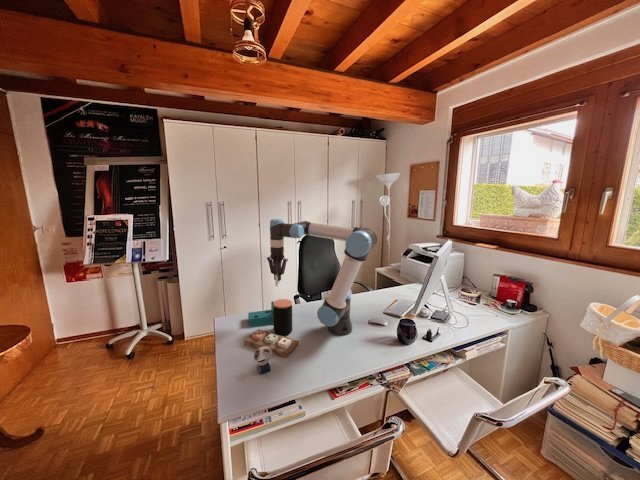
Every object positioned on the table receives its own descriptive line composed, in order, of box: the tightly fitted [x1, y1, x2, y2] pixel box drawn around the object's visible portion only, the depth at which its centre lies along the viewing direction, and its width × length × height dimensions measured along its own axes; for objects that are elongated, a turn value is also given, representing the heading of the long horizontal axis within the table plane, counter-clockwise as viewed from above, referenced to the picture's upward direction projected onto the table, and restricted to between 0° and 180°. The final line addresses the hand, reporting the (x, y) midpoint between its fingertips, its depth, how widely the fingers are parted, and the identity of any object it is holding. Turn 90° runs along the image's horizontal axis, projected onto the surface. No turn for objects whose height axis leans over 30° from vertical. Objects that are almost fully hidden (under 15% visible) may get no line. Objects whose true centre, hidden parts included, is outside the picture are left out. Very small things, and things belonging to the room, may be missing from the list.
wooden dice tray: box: [243, 329, 300, 360], centre depth 137 cm, size 26×12×3 cm, turn 65°
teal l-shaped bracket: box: [247, 301, 274, 328], centre depth 162 cm, size 18×11×10 cm, turn 108°
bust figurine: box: [253, 346, 273, 375], centre depth 118 cm, size 6×8×11 cm
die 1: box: [251, 329, 266, 341], centre depth 140 cm, size 5×5×4 cm
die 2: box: [265, 334, 278, 345], centre depth 137 cm, size 5×5×4 cm
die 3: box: [278, 337, 291, 349], centre depth 134 cm, size 5×5×4 cm
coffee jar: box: [272, 298, 293, 337], centre depth 149 cm, size 11×11×18 cm
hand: (277, 285), depth 153 cm, fingers closed
